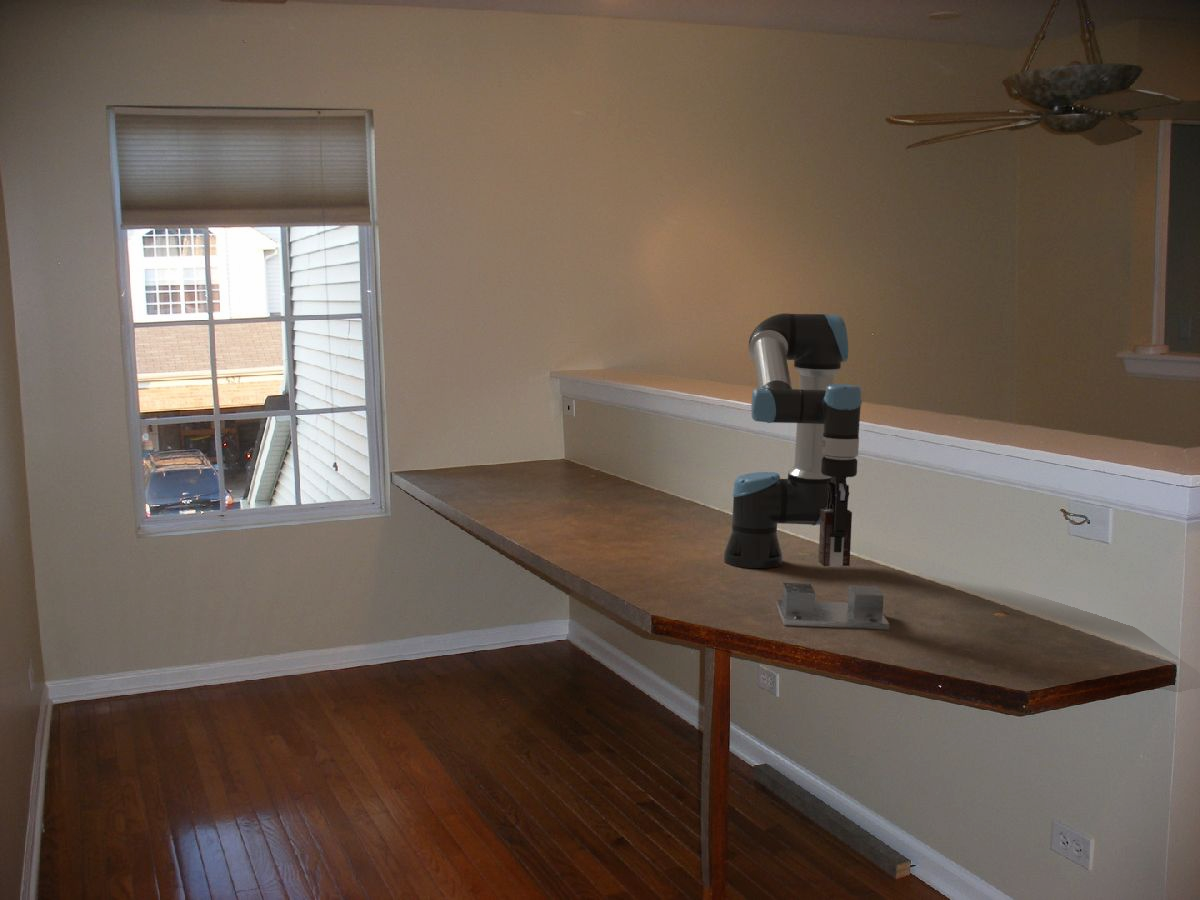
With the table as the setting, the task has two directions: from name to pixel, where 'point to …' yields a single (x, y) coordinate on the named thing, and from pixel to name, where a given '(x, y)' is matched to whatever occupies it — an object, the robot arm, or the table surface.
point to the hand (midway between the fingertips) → (833, 563)
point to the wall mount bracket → (832, 608)
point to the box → (825, 540)
